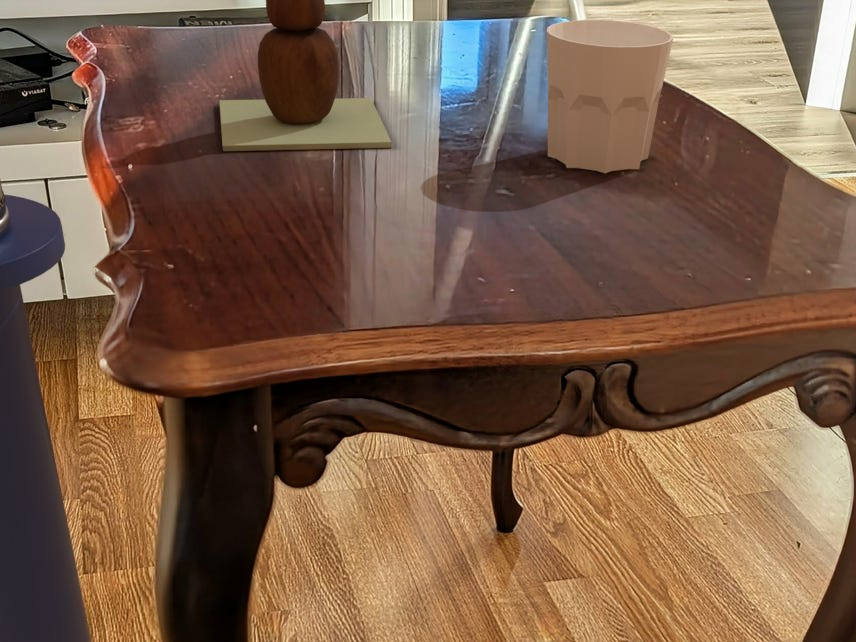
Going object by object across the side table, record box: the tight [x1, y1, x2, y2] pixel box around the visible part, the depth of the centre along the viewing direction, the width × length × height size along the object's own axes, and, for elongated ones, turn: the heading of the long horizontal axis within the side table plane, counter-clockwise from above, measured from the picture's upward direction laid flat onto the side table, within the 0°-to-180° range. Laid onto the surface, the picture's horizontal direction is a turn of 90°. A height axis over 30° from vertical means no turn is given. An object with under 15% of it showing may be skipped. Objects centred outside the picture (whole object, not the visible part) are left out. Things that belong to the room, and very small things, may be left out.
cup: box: [546, 19, 674, 174], centre depth 94 cm, size 10×10×10 cm
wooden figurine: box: [257, 0, 340, 124], centre depth 97 cm, size 7×6×15 cm
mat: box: [218, 97, 393, 152], centre depth 101 cm, size 14×14×1 cm
